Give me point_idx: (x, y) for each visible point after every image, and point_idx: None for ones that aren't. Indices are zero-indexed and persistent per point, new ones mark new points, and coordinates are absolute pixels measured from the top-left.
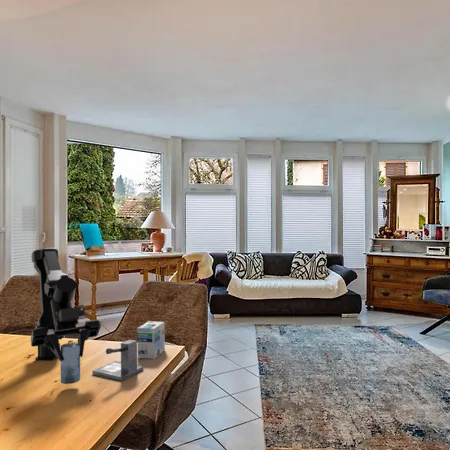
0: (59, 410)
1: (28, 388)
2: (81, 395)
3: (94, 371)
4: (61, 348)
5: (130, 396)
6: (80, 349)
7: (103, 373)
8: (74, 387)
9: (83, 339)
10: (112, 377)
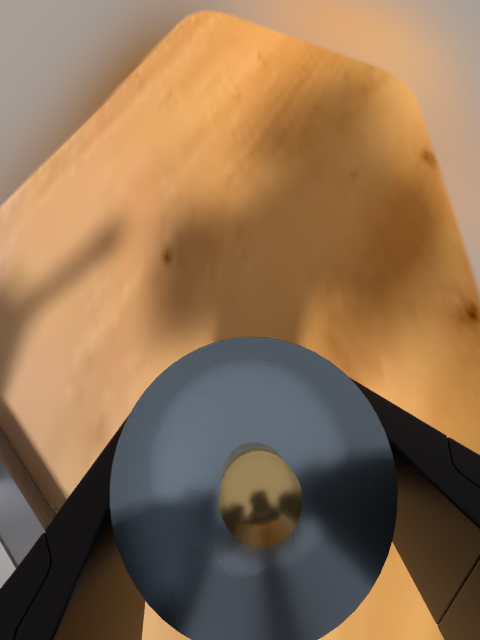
0: (281, 217)
1: None
2: (197, 318)
3: None
4: (370, 415)
5: (15, 227)
6: None
7: None
8: None
9: (3, 623)
10: (18, 467)
